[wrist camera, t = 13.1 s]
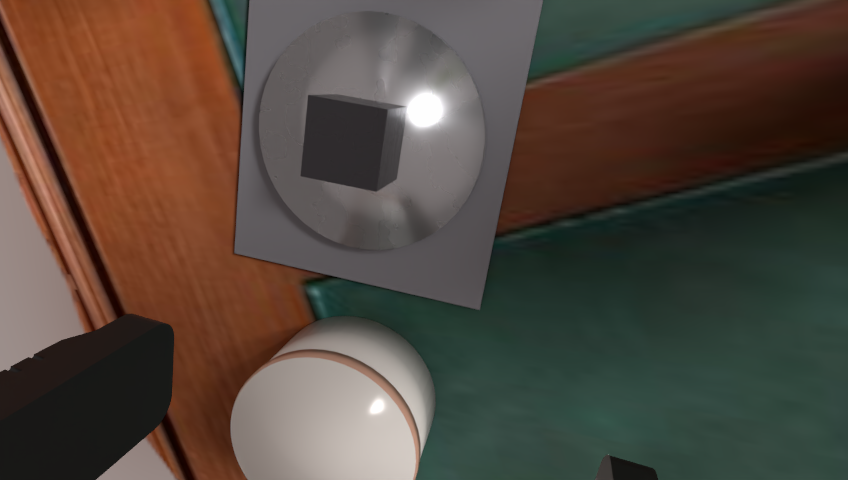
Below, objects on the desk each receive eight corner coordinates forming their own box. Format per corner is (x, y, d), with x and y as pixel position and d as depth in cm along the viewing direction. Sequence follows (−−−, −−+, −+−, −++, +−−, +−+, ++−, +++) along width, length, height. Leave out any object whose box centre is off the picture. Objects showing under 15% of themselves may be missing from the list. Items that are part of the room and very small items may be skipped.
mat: (256, -54, 31) (252, -56, 30) (546, -15, 28) (546, -16, 28) (237, 251, 36) (234, 253, 36) (480, 307, 33) (479, 309, 33)
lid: (276, -3, 31) (227, -19, 26) (508, 33, 29) (501, 22, 24) (259, 221, 35) (214, 242, 30) (463, 266, 33) (450, 296, 28)
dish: (283, 297, 36) (234, 336, 30) (450, 337, 34) (432, 386, 29) (270, 441, 39) (224, 500, 34) (422, 484, 38) (400, 555, 32)
